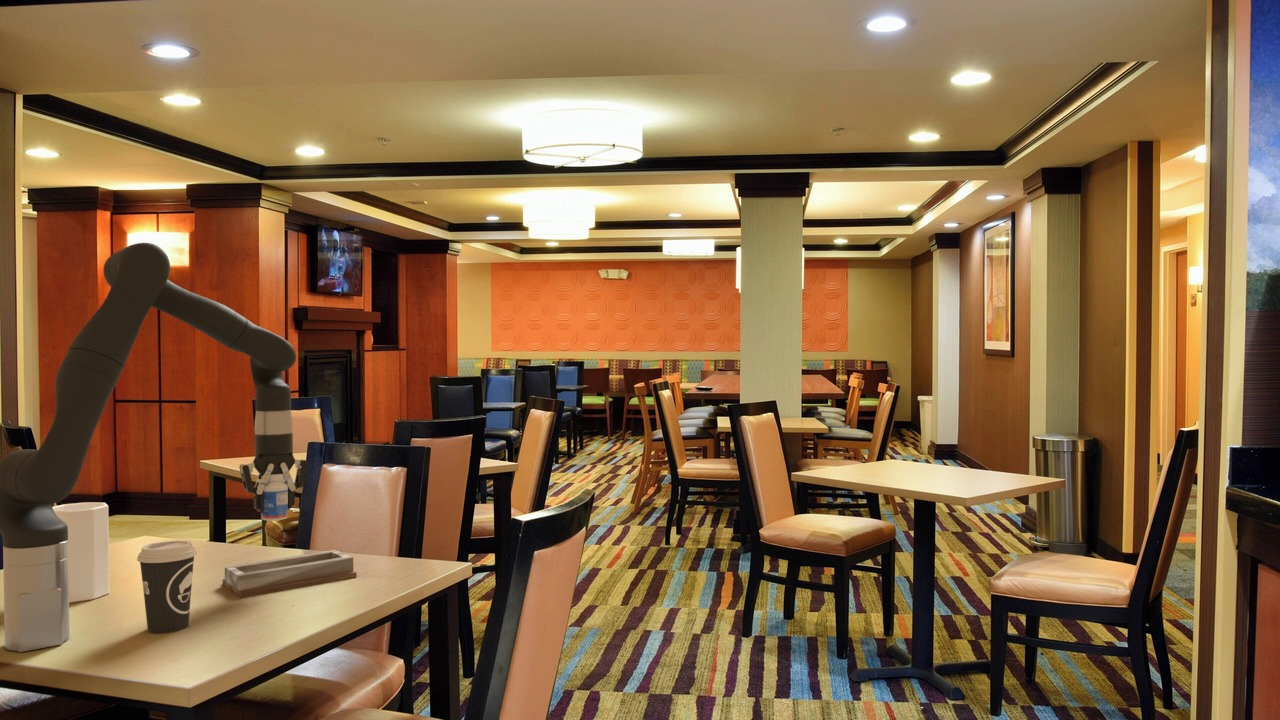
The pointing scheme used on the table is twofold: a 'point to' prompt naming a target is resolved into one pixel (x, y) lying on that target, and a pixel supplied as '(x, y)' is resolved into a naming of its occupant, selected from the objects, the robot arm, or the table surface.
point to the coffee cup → (167, 584)
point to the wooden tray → (288, 573)
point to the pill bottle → (275, 498)
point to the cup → (86, 549)
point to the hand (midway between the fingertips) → (274, 509)
